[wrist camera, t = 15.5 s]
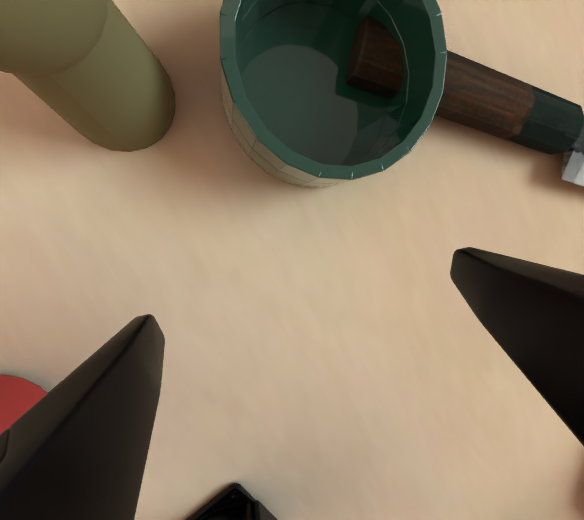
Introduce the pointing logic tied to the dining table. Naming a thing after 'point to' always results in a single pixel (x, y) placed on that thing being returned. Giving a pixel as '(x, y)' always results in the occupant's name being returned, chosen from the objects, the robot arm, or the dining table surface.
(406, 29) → the pot
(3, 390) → the beer can
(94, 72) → the olive pestle
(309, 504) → the dining table surface
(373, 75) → the kitchen knife
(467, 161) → the dining table surface
